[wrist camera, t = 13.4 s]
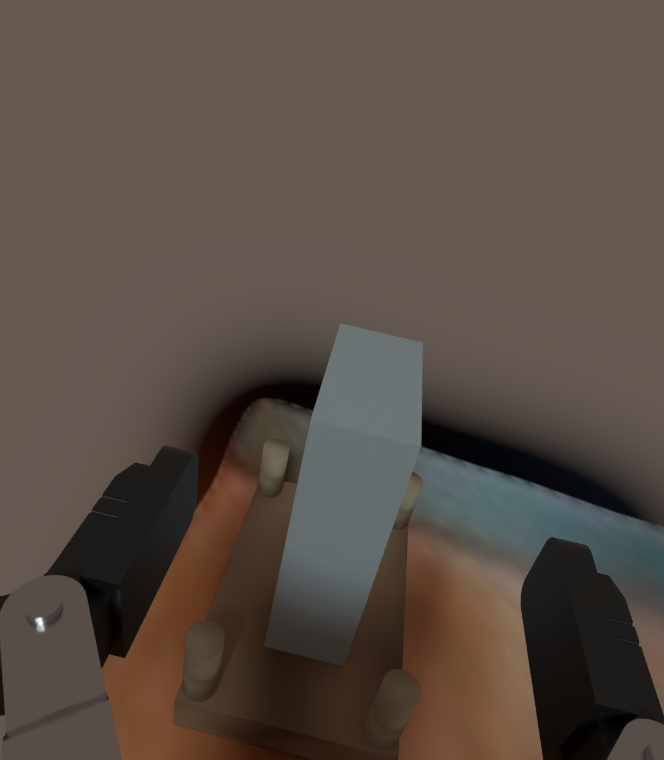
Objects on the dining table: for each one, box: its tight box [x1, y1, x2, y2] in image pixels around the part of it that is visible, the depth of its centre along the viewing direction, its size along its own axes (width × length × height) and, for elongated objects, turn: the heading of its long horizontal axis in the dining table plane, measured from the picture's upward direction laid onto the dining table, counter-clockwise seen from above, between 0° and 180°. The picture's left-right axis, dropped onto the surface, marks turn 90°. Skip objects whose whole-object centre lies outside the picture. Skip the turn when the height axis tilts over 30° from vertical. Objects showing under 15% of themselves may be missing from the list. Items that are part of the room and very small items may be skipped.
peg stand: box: [173, 439, 423, 760], centre depth 30 cm, size 10×15×6 cm, turn 171°
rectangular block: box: [264, 324, 423, 666], centre depth 27 cm, size 4×8×14 cm, turn 171°
